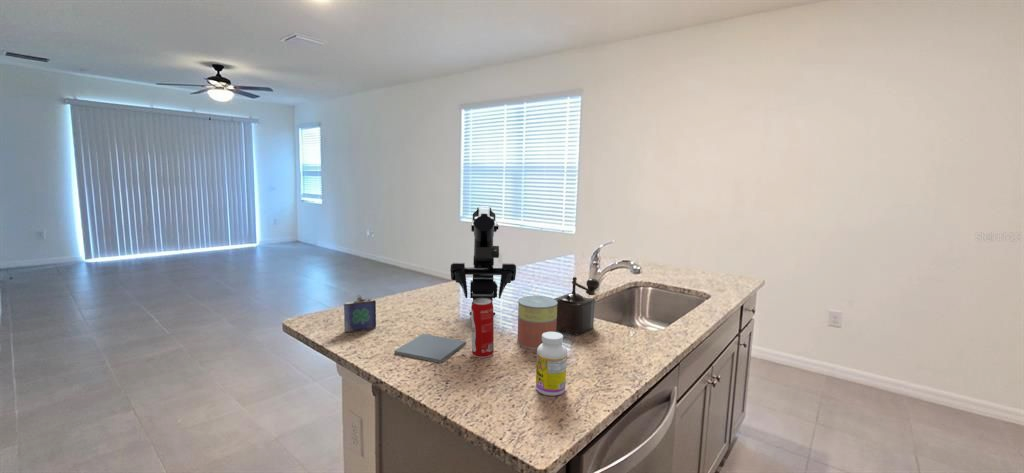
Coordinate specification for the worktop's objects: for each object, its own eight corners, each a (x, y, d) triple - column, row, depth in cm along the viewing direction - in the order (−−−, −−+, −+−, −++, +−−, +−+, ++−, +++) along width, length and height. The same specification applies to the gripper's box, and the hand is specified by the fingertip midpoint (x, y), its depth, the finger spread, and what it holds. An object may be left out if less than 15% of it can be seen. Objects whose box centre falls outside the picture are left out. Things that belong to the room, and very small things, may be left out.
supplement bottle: (533, 383, 103) (535, 329, 102) (562, 382, 104) (564, 329, 102) (537, 397, 97) (539, 340, 95) (568, 396, 97) (570, 340, 96)
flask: (345, 333, 131) (344, 298, 130) (343, 330, 134) (342, 295, 132) (377, 329, 136) (376, 294, 135) (374, 326, 138) (374, 292, 137)
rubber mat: (423, 336, 131) (423, 333, 131) (466, 343, 126) (466, 341, 126) (394, 353, 118) (394, 350, 118) (440, 362, 113) (440, 359, 113)
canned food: (564, 341, 129) (565, 301, 128) (539, 352, 121) (540, 309, 119) (534, 331, 137) (535, 293, 135) (509, 341, 129) (510, 300, 127)
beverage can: (494, 350, 122) (496, 297, 120) (491, 360, 115) (492, 304, 113) (473, 349, 122) (474, 295, 120) (468, 358, 116) (469, 302, 114)
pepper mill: (547, 329, 140) (549, 272, 137) (566, 320, 148) (568, 267, 146) (592, 341, 130) (595, 281, 128) (609, 331, 139) (612, 274, 136)
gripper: (451, 235, 127) (447, 282, 117) (516, 236, 128) (518, 283, 119) (452, 257, 136) (449, 302, 126) (514, 257, 137) (515, 303, 127)
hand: (483, 297), depth 124 cm, fingers open, 9 cm apart
